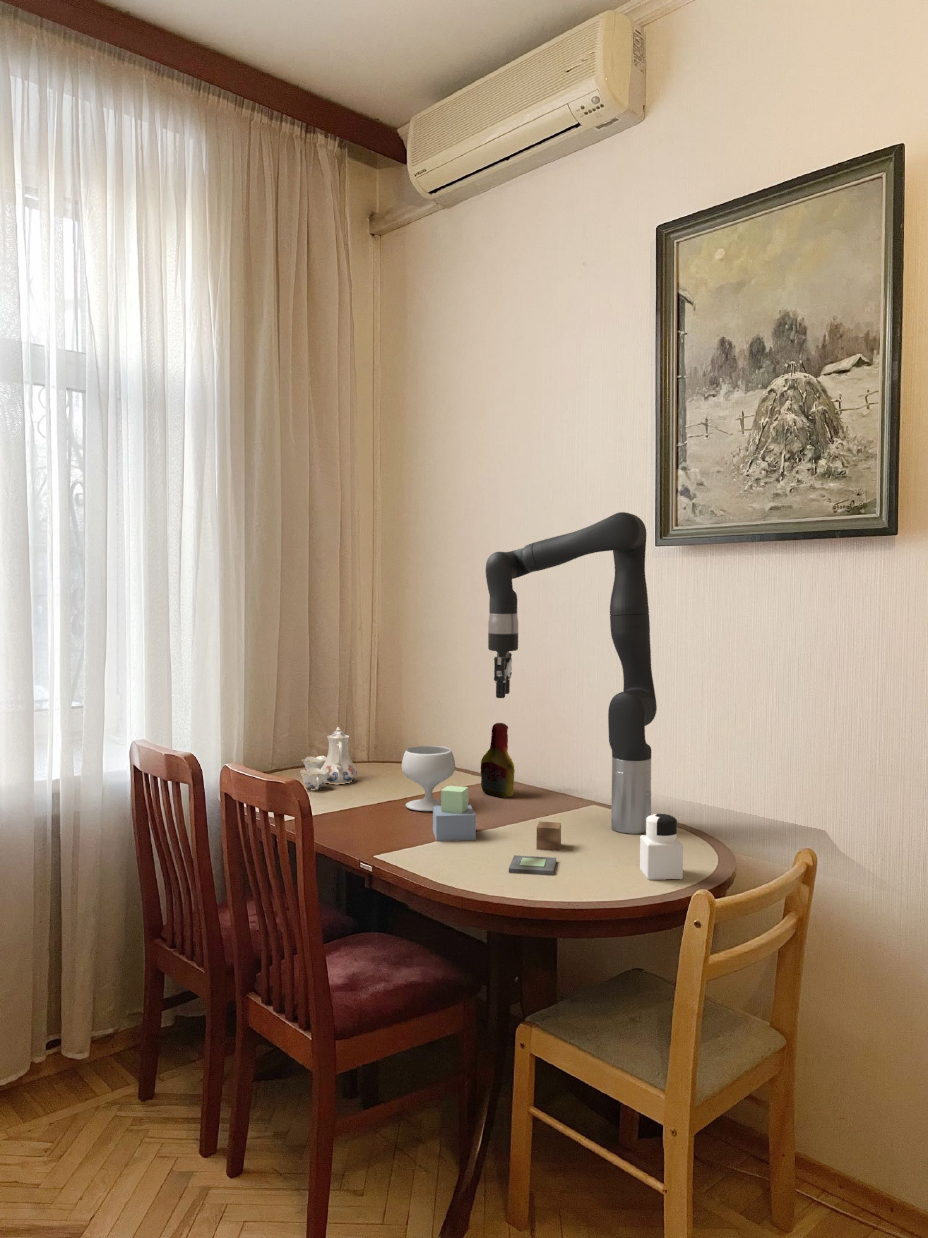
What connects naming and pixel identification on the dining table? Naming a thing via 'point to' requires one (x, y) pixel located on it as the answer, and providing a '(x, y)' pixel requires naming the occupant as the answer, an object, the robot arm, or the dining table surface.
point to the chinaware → (330, 764)
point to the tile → (532, 865)
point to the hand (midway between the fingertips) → (502, 695)
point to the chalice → (427, 772)
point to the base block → (454, 825)
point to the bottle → (498, 765)
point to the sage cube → (454, 799)
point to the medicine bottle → (661, 849)
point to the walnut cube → (549, 836)
